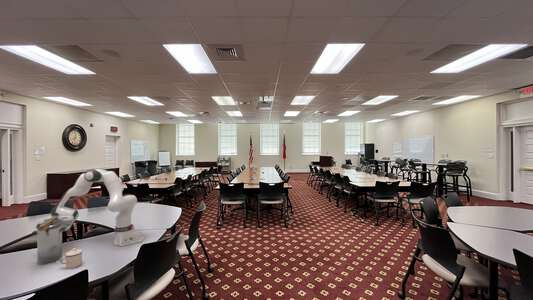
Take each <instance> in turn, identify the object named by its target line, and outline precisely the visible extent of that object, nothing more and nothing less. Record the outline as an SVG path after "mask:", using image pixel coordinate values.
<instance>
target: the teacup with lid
mask: <svg viewBox="0 0 533 300" xmlns="http://www.w3.org/2000/svg"><path fill="white" fill-rule="evenodd" d="M64 255H65V256H62V258H61V259H60V260H59V263H60V265H65V268H66V269H74V268H78V267H80V266H81V265H82V264H83V250H82V249H80V248H79V249H77V248H75V247H74V248H72V250H70V251H68V252H66V253H65V254H64ZM63 259H65V262H63V261H62V260H63Z"/></svg>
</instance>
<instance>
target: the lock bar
mask: <svg viewBox="0 0 533 300" xmlns="http://www.w3.org/2000/svg"><path fill="white" fill-rule="evenodd" d="M57 217H59V215H58V213H54V215H53V216H51V217H48V218H49V219H48V220H47V221H45V222H44V223H43V224H41V225H40V226H39V231H43V230H46V229H47V228H48V227H49V226H51V222H52V221H54V220H55V219H57Z"/></svg>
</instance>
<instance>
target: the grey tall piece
mask: <svg viewBox="0 0 533 300" xmlns="http://www.w3.org/2000/svg"><path fill="white" fill-rule="evenodd" d="M46 221H47V220H46ZM43 223H44V222H43ZM43 223H42V224H43ZM62 224H63V222H62V221H57V219H55V220H54V221H52V222H51V226H49V227H48V228H47V229H46V230H43V231H39V226H40V225H41V224H39V223H37V224H36V226H35V229H36V230H34V231H32V233H31V234H32V235H36V240H37V241H36V243H37V250H36V251H37V265H40V266H43V265H50V264H53V263H56V262H58V261H59V262H60V259H61V258H62V257H63V232H65V231H64V230H66V227H62ZM66 231H67V230H66ZM61 260H62V259H61Z"/></svg>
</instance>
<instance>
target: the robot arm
mask: <svg viewBox="0 0 533 300" xmlns="http://www.w3.org/2000/svg"><path fill="white" fill-rule="evenodd" d="M102 182H103V184H104V186H105V187H106V189H107V192H108V193H109V202H108V204H107V208H108V211H110V212H111V213H115V212H116V213H117V212H118V214H117V215H116V216H115V226H114V233H115V234H114V235H115V237H114V241H113V245H114V246H119V247H124V246H128V245H133V244H137V243H138V244H139V243H141V242H143V241H144V240H145V238H144V235H142V234H141V231H140V230H138V229H136V228H135V225H134V224H133V223H131V222H132V214H133V210H134V207H135V205H136V204H137V202H138V199H137V197H136V196H135V195H134V194H128V195H127V194H126V195H124V196H123V191H124V189H125V188H124V185H123V184H122V181H121V179H120V178H119V176H118V175H117V174H116V172H114V171H112V170H107V169H100V168H99V169H98V168H94V169H93V168H91V169H89V170H87V171H85V172H84V173H82V174H80V176H79V177H78V178H77V179H76V181H75V183H74V185H73V186H72V187H70V188H68V189H67V190H66V191H65V192H64V193H63V195H62V196H61V197H60V198H59V201H58V202H57V203H56V205H55V206H54V207H53V208H52V209H51V210H50V216H51V217H52V216H53V215H54V213H58V215H59V217H57V221H62V222H63V224H62V227H66V230H64V231H63V232H66V231H68V230H69V229H70V228H72V225H74V223H75V222H76V221H77V219H78V217H79V215H80V214H79V211H78V209H74V208H71V207H67V206H65V204H67V203H66V202H68V200H69V198H71V197H81V196H85V195H86V194H88V193H89V191H90V190H91V187H92V185H93V184H94V183H102ZM49 218H50V217H48V218H41V219H39V220H38V224H42V223H43V222H45V221H46V220H48V219H49Z"/></svg>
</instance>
